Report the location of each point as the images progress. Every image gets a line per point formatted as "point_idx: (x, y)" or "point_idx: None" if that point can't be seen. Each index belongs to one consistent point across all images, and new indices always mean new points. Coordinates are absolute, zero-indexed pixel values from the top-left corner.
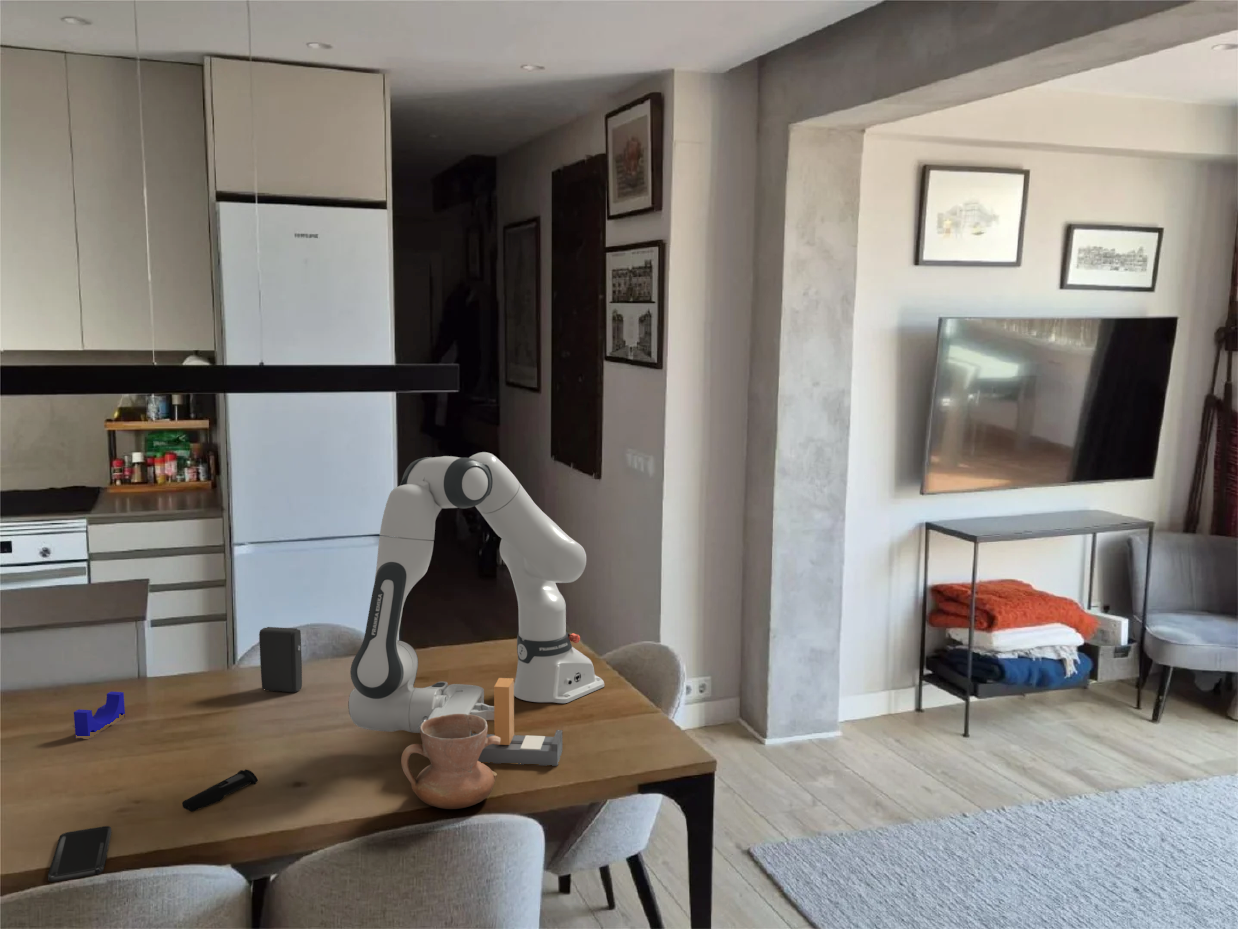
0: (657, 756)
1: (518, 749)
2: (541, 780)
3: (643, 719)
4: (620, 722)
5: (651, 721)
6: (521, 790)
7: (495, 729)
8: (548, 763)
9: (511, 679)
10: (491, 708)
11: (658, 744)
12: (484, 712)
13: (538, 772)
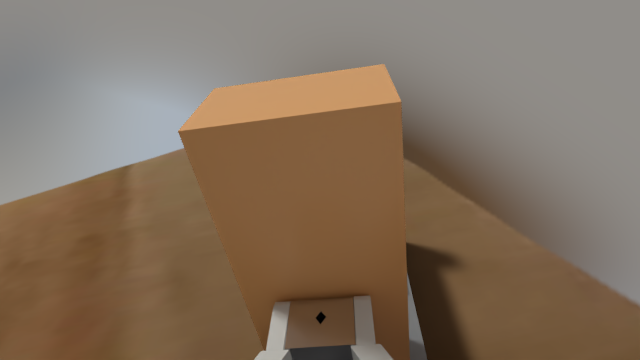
0: None
1: (408, 298)
2: (496, 252)
3: (154, 170)
4: (154, 192)
5: (168, 161)
6: (597, 282)
7: (407, 343)
8: None
9: (233, 87)
10: (314, 323)
11: None
12: (389, 356)
13: (448, 269)
